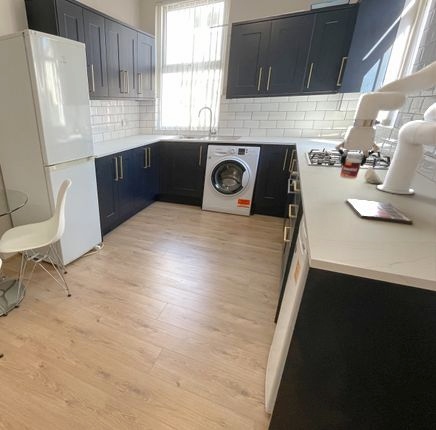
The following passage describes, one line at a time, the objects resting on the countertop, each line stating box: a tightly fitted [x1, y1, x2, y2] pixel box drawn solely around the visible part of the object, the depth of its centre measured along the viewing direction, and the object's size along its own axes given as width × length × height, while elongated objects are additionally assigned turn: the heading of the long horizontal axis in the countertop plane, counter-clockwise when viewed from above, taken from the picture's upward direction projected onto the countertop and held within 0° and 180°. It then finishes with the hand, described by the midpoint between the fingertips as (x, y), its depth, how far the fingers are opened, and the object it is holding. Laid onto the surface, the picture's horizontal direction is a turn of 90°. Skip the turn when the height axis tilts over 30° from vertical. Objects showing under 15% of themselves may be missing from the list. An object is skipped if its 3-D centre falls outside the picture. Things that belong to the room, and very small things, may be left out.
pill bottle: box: [339, 152, 363, 180], centre depth 128 cm, size 6×6×11 cm
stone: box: [363, 166, 384, 185], centre depth 145 cm, size 10×7×10 cm
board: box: [346, 198, 414, 225], centre depth 107 cm, size 20×14×1 cm
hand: (351, 164), depth 127 cm, fingers closed on pill bottle, 6 cm apart
